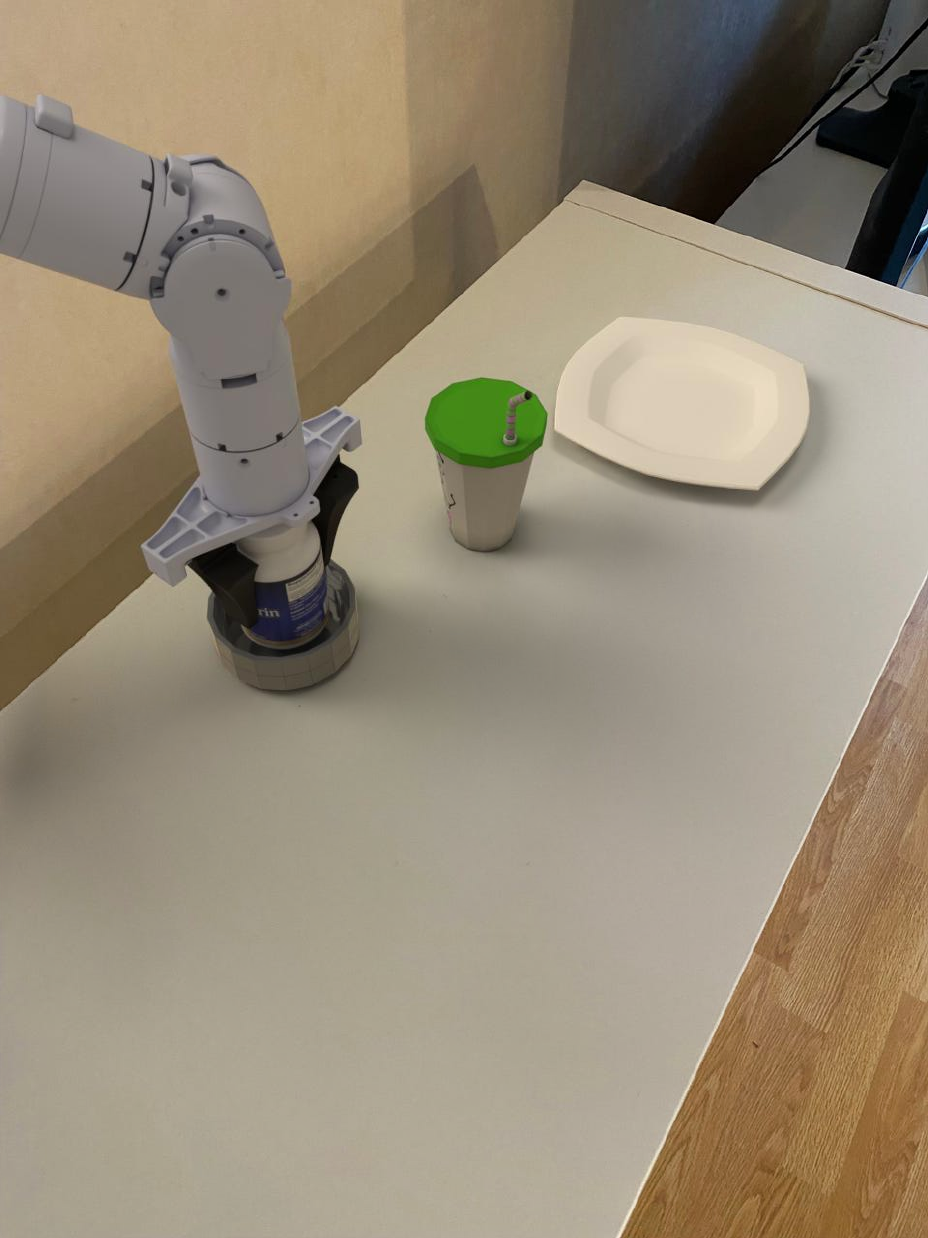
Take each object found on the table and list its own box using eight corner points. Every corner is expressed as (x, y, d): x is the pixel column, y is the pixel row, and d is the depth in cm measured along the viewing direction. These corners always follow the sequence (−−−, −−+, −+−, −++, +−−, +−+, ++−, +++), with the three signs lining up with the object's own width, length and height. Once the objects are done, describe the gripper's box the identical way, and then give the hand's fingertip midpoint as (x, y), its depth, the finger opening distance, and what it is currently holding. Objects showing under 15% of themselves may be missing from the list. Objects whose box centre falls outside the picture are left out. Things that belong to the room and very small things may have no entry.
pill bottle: (221, 624, 64) (190, 513, 57) (283, 570, 67) (261, 457, 59) (288, 668, 62) (265, 559, 54) (349, 611, 65) (336, 499, 57)
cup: (427, 490, 75) (423, 315, 63) (533, 489, 75) (548, 315, 63) (427, 570, 70) (423, 396, 58) (540, 568, 70) (559, 395, 58)
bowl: (213, 701, 63) (203, 668, 60) (220, 587, 69) (211, 552, 66) (362, 689, 64) (358, 656, 61) (356, 577, 69) (352, 542, 67)
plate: (772, 530, 73) (779, 510, 71) (521, 455, 77) (523, 435, 76) (824, 376, 84) (831, 356, 82) (602, 318, 88) (605, 299, 87)
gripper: (187, 530, 47) (235, 697, 57) (396, 378, 54) (405, 551, 64) (90, 463, 49) (153, 634, 60) (301, 326, 57) (325, 501, 67)
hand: (278, 588), depth 62 cm, fingers closed on pill bottle, 5 cm apart
